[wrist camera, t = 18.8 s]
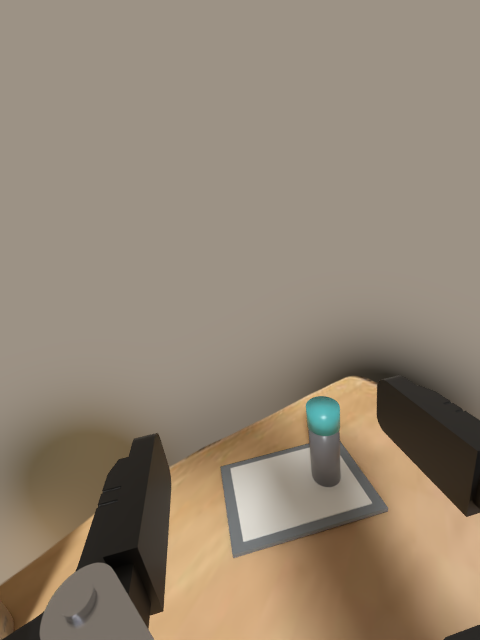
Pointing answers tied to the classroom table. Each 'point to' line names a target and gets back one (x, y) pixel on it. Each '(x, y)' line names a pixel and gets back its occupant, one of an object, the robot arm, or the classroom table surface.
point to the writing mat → (291, 499)
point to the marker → (324, 440)
